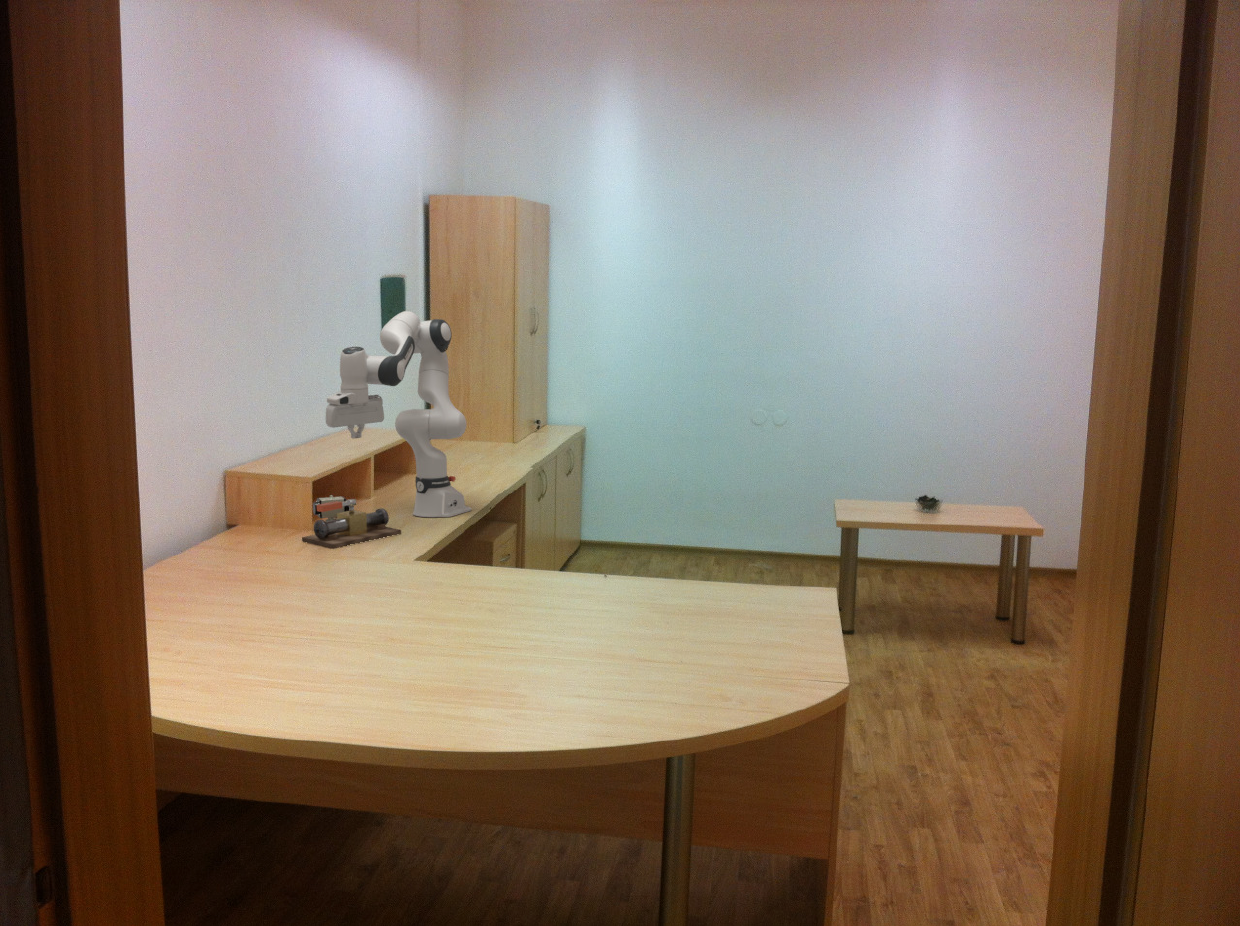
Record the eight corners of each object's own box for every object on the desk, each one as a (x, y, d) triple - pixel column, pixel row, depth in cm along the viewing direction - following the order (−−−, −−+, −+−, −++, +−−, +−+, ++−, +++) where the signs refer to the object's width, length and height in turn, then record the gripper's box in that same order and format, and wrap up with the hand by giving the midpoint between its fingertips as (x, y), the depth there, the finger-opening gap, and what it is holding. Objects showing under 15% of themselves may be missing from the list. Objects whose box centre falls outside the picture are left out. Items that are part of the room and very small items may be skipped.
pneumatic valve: (350, 529, 356) (349, 495, 355) (316, 532, 351) (315, 497, 349) (347, 526, 361) (346, 492, 360) (313, 529, 356) (311, 494, 354)
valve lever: (352, 504, 344) (351, 498, 344) (358, 505, 342) (357, 499, 342) (316, 510, 332) (316, 504, 332) (322, 512, 331) (322, 505, 330)
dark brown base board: (370, 527, 359) (369, 518, 359) (401, 534, 350) (400, 525, 349) (302, 541, 337) (301, 532, 337) (333, 548, 328) (332, 539, 327)
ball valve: (376, 525, 356) (376, 499, 354) (389, 528, 352) (388, 501, 350) (313, 538, 335) (312, 510, 334) (326, 541, 331) (325, 513, 330)
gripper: (376, 393, 350) (378, 433, 353) (322, 398, 336) (324, 440, 338) (387, 395, 346) (388, 435, 348) (332, 400, 331) (334, 442, 334)
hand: (356, 438), depth 343 cm, fingers closed
